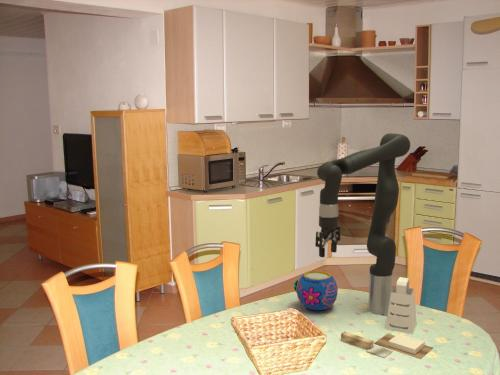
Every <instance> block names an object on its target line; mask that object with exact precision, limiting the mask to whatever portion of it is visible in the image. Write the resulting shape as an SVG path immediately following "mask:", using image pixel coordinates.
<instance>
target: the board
mask: <svg viewBox="0 0 500 375" xmlns="http://www.w3.org/2000/svg"><path fill="white" fill-rule="evenodd" d="M395 336H396V335H395V334H394V335H393V334H390V333H386V334H385V335H383V336H382V337H381V338H379V339H378V340H376V341H375V342H374V344H373V345H376V346H379V347H382V348H385V349H388V350H391V351H395V352H398V353H401V354H403V355H407V356H410V357H413V358H415V359H419V360H422V359H423V358H424V357H425V356H426V355H427V354H429V353H430V352H431V351H432V350H434V347H432V346H429V345H426V344H424V347H423V348H422V349H421V350H420V351H418V352H417V353H416V354H415V355H414V354H411V353H408V352H405V351H402V350H399V349H396V348H393V347H390V346H388V341H389V340H391V339H392V338H394V337H395Z"/></svg>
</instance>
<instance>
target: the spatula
mask: <svg viewBox="0 0 500 375" xmlns="http://www.w3.org/2000/svg"><path fill="white" fill-rule="evenodd" d="M340 341H341V342H342V343H343V342H344V343H346V344H349V345H352V346H354V347H358V348H361V349H365V350H366V351H365V352H366V353H368V354H371V355H373V356H377V357H380V358H383V359H385V358H386V359H387V357H388V356H390V355H391V354H392V353H393V351H394V350H391V349H388V348H385V347H382V346H379V345H376V344H374V343H375V342H374V340H372V339H369V338H366V337H363V336H359V335H357V334H353V333H351V332H348V331H342V332H341V333H340Z"/></svg>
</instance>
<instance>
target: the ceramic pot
mask: <svg viewBox="0 0 500 375" xmlns="http://www.w3.org/2000/svg"><path fill="white" fill-rule="evenodd" d="M293 289H294V291H295V293H296V295H297V299H298V301H299V302H300V305H302V306H303V307H305V308H307V309H308V310H311V311H324V310H327V309H329V308H331V307H332V306H333V305H334V303H335V301H337V297H338V290H339V289H338V284H337V281H336V280H335V278H334V277H333V275H332V274H330V273H329V272H326V271H322V270H321V271H320V270H310V271H306V272H305V273H303V274H302V275H301V276H300V277H299V278H298V279H297V280H295V281H294V283H293Z"/></svg>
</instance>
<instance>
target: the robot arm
mask: <svg viewBox="0 0 500 375" xmlns="http://www.w3.org/2000/svg"><path fill="white" fill-rule="evenodd" d="M410 149H411V141H410V138H408V136H406V135H404V134H400V133H391V132H390V133H386V134H384V135H383V136H382V137H381V140H380V143H379V145H378V146H376V147H373V148H368V149H364V150H360V151H355V152H354V153H351V154H349V155H346V156H344V157H342V158H338V159H333V160H330V161H327V162H324V163H322V164H321V165H320V166H318V168H317V170H316V174H317V175H316V176H317V177H318V179H320V180H321V181H322V182H324V187H323V188H321V189H320V191H319V205H318V206H319V207H318V226H319V227H320V228H321V229H320V231H316V232H315V247H316V248H318V256H319V257H320V258H326V257H325V256H326V245H327V244H328V243H329V241H330V242H331V243H330V252H331V253H337V252H338V251H337V250H338V246H337V245H338V243H339V242H340V241H341V226H339V192H340V188H341V183H342V178H343V175H346V176H347V175H351V174H353V173H356V172H359V171H361V170H363V169H365V168H367V167H370V166H372V165H375V164H378V173H377V182H376V188H375V195H374V202H373V203H374V204H373V210H372V217H371V224H370V228H369V233H368V235H367V241H366V248H367V249H366V250H367V252H368V253H369V254H371V255H372V256H374V257H376V261H375V263H373V264H371V265H370V266H369V277H368V278H369V281H368V283H369V285H368V308H367V309H368V312H369V313H371V314H373V315H380V316H383V317H387V315H388V309H389V303H390V297H391V292H392V290H393V270H394V268H395V267H396V266H395V265H396V255H397V254H396V253H397V245H396V242H395V240H394V239H392V238H391V237H388V236H386V230H387V229H386V228H387V224H388V221H389V219H390V218H391V217H392V215H393V213H394V212H395V210H396V208H397V206H398V202H399V194H400V186H399V181H398V178H397V173H396V170H395V169H396V167H395V166H396V165H395V164H396V158H400V157H403V156H405V155H407V154H408V153H409V151H410ZM390 313H391V312H390Z"/></svg>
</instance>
